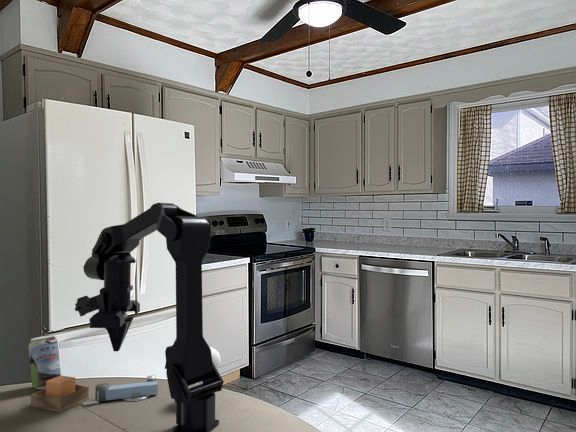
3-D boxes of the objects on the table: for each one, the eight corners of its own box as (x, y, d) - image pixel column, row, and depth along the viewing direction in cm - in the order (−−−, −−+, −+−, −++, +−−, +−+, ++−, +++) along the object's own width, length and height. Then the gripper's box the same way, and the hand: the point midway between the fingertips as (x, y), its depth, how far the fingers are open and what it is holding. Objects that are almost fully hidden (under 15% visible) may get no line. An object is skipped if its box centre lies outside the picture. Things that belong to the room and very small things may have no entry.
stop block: (60, 405, 92) (60, 383, 92) (45, 402, 94) (45, 381, 94) (75, 398, 96) (75, 377, 96) (60, 396, 97) (61, 375, 97)
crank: (156, 389, 101) (156, 377, 101) (157, 394, 98) (157, 381, 98) (95, 397, 97) (96, 383, 97) (94, 402, 94) (95, 388, 94)
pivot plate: (155, 393, 100) (155, 392, 100) (138, 403, 94) (138, 401, 94) (134, 389, 102) (134, 388, 102) (115, 399, 97) (115, 398, 97)
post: (157, 389, 102) (157, 376, 102) (152, 392, 101) (152, 378, 101) (150, 388, 103) (150, 375, 103) (144, 391, 101) (144, 377, 101)
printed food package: (48, 393, 100) (49, 340, 100) (20, 390, 102) (21, 338, 102) (67, 383, 106) (68, 333, 107) (41, 381, 108) (41, 332, 108)
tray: (88, 398, 97) (88, 386, 97) (59, 412, 90) (59, 399, 90) (61, 393, 100) (61, 382, 100) (30, 406, 92) (31, 394, 92)
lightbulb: (219, 390, 102) (219, 342, 102) (221, 400, 96) (222, 350, 96) (192, 393, 100) (192, 344, 100) (193, 403, 94) (193, 351, 95)
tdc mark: (98, 400, 96) (98, 400, 96) (98, 402, 95) (98, 401, 95) (83, 403, 94) (83, 402, 94) (83, 405, 93) (83, 404, 93)
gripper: (94, 278, 109) (93, 341, 109) (64, 288, 91) (62, 364, 90) (140, 277, 110) (140, 340, 110) (119, 287, 92) (118, 363, 91)
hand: (116, 351), depth 100 cm, fingers closed
